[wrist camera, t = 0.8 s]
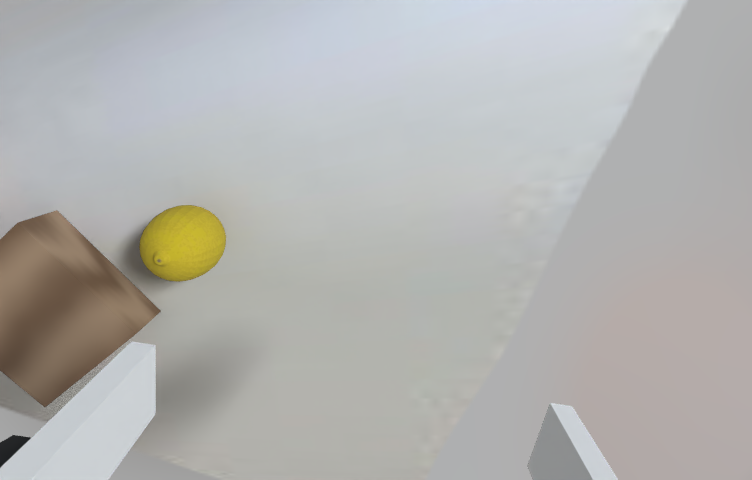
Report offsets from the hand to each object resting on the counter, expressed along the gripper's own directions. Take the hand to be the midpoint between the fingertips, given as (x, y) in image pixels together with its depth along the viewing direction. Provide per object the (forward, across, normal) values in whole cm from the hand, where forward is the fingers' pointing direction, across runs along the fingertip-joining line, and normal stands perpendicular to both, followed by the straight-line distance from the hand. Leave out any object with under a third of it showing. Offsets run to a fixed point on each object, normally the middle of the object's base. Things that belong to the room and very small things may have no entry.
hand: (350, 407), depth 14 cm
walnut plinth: (+23, -26, -12) cm, 36 cm away
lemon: (+23, -14, -3) cm, 27 cm away
